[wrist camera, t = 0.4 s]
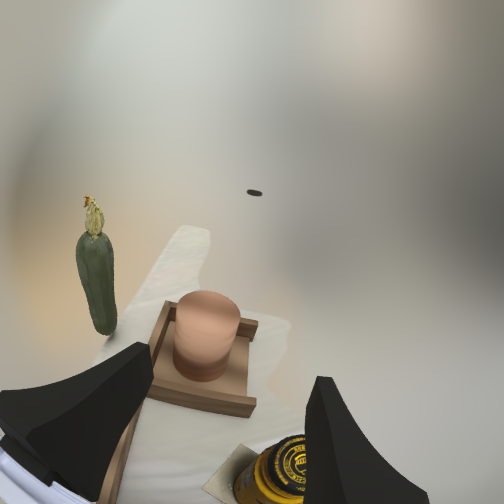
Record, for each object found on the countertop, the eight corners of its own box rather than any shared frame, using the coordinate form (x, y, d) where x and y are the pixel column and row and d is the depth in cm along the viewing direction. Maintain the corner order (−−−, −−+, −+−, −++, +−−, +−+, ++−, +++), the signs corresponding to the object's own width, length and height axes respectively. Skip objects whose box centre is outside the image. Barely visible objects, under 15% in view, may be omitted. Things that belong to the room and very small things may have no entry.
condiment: (271, 527, 17) (325, 517, 11) (201, 488, 20) (216, 461, 14) (303, 478, 22) (360, 441, 17) (240, 444, 26) (271, 395, 20)
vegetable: (125, 343, 33) (119, 203, 24) (97, 354, 30) (76, 210, 21) (112, 322, 36) (106, 188, 26) (86, 331, 33) (69, 193, 23)
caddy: (242, 563, 12) (273, 574, 8) (98, 534, 11) (64, 532, 6) (252, 336, 41) (270, 286, 36) (164, 317, 40) (168, 263, 35)
